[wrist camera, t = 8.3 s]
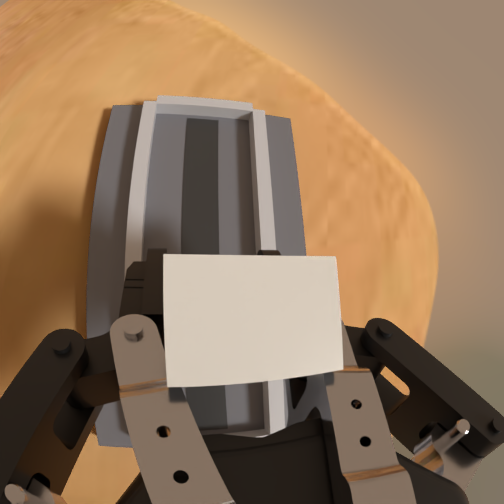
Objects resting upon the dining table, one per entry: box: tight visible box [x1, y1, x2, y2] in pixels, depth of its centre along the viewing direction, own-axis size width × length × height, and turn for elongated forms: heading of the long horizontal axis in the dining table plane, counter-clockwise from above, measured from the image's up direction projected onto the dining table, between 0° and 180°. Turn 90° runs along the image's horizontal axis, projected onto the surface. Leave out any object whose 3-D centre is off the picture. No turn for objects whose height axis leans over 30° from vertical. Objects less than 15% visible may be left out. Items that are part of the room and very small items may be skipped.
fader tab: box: [163, 254, 343, 387], centre depth 10 cm, size 5×4×10 cm
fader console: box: [86, 95, 306, 448], centre depth 16 cm, size 12×20×2 cm, turn 3°
